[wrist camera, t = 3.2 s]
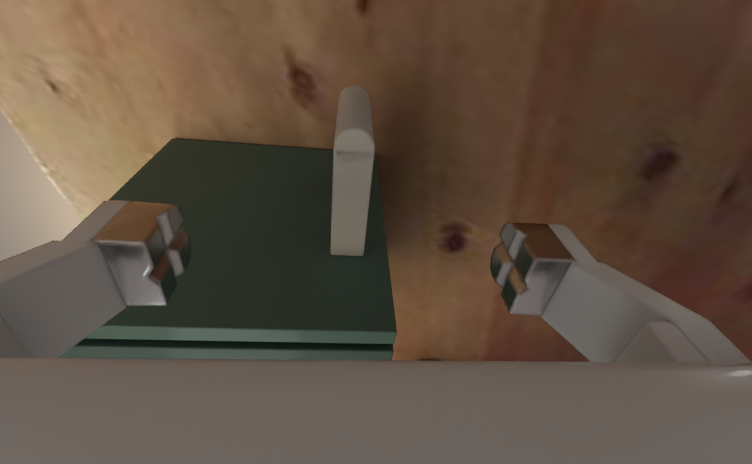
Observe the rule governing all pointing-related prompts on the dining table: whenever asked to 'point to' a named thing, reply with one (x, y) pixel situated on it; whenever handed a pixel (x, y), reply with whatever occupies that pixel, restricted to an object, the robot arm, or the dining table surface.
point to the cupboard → (226, 350)
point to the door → (272, 240)
